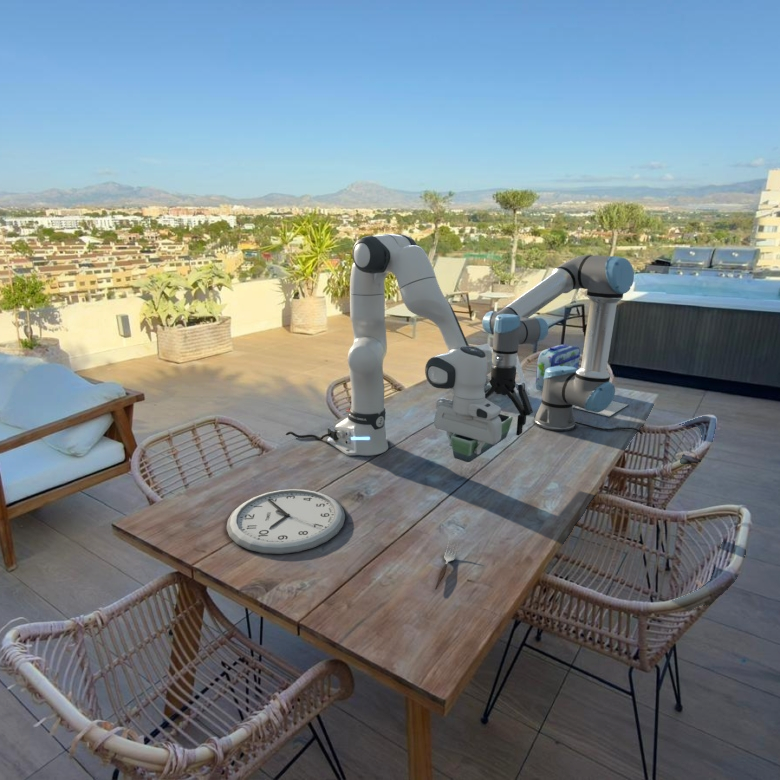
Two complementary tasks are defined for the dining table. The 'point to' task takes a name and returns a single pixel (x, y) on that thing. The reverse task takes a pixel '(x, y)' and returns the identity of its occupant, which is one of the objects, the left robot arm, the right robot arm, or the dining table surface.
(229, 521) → the wall clock
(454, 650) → the dining table surface
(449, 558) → the fork
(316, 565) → the dining table surface
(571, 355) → the lunch box
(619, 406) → the invitation card
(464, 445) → the planter
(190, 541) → the dining table surface
